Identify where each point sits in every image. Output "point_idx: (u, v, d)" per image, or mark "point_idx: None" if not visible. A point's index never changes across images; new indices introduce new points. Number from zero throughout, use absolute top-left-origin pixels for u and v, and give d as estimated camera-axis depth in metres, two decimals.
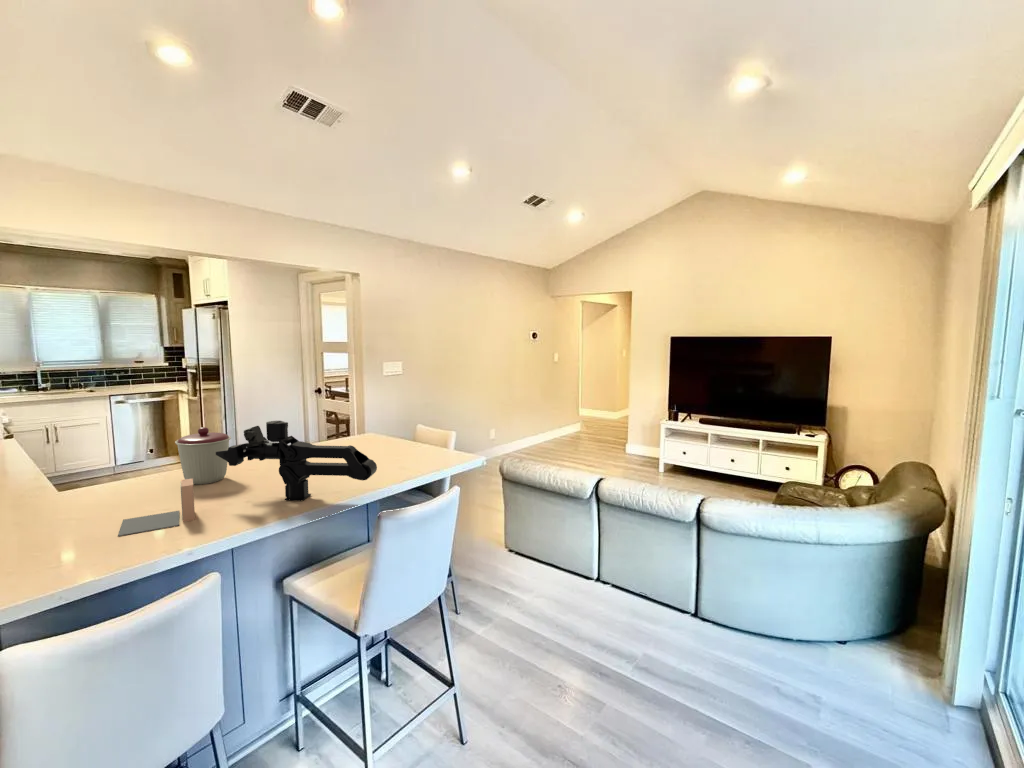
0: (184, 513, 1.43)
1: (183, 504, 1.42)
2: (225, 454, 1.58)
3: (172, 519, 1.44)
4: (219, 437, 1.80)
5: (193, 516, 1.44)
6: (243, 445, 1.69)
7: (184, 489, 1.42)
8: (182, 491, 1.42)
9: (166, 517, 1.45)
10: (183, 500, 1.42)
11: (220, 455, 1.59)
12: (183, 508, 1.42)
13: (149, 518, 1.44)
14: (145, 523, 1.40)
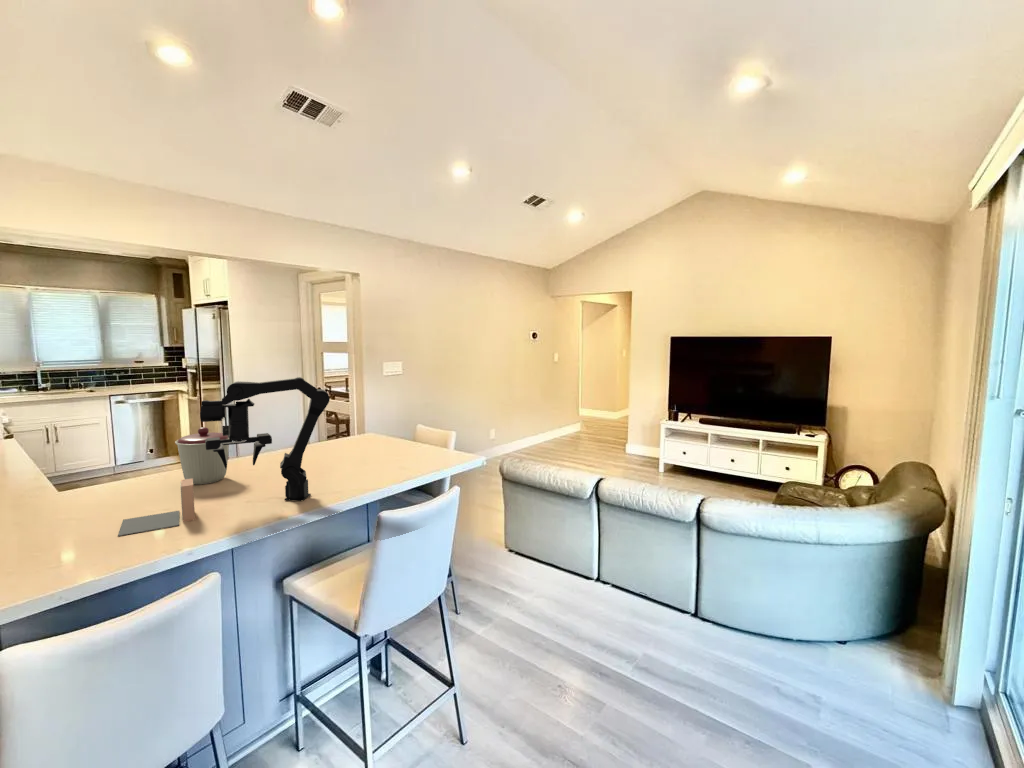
0: (184, 513, 1.43)
1: (183, 504, 1.42)
2: None
3: (172, 519, 1.44)
4: (219, 437, 1.80)
5: (193, 516, 1.44)
6: (253, 453, 1.59)
7: (184, 489, 1.42)
8: (182, 491, 1.42)
9: (166, 517, 1.45)
10: (183, 500, 1.42)
11: (223, 462, 1.53)
12: (183, 508, 1.42)
13: (149, 518, 1.44)
14: (145, 523, 1.40)
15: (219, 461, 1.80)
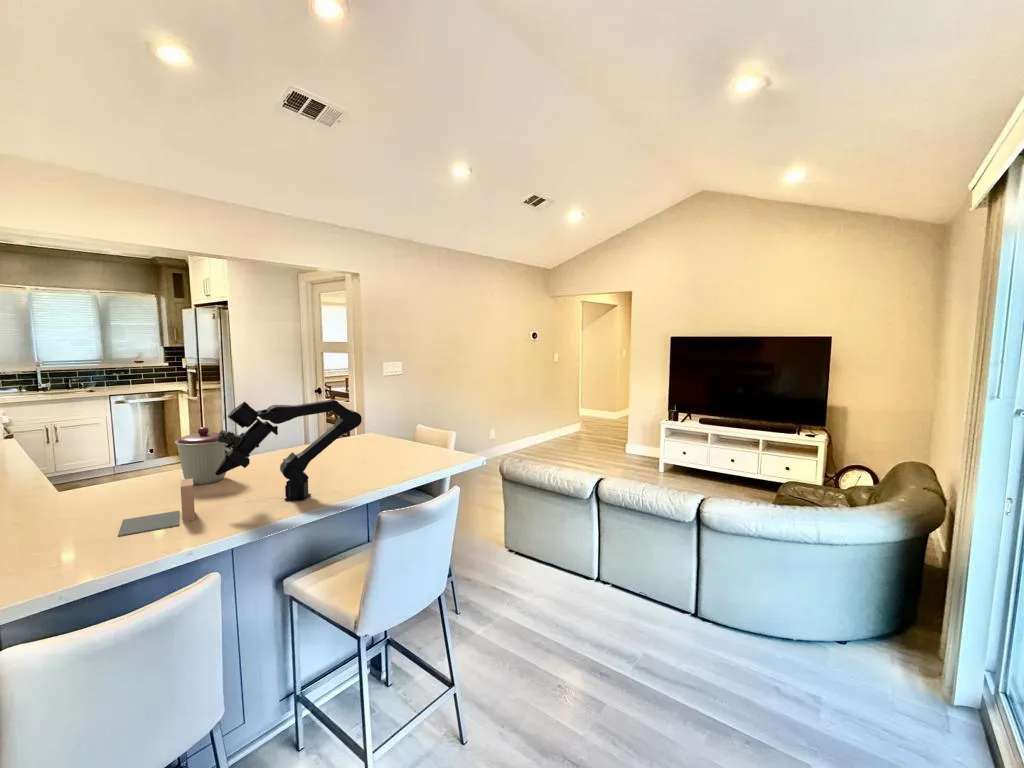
0: (184, 513, 1.43)
1: (183, 504, 1.42)
2: (226, 465, 1.50)
3: (172, 519, 1.44)
4: None
5: (193, 516, 1.44)
6: None
7: (184, 489, 1.42)
8: (182, 491, 1.42)
9: (166, 517, 1.45)
10: (183, 500, 1.42)
11: (223, 471, 1.50)
12: (183, 508, 1.42)
13: (149, 518, 1.44)
14: (145, 523, 1.40)
15: (219, 461, 1.80)
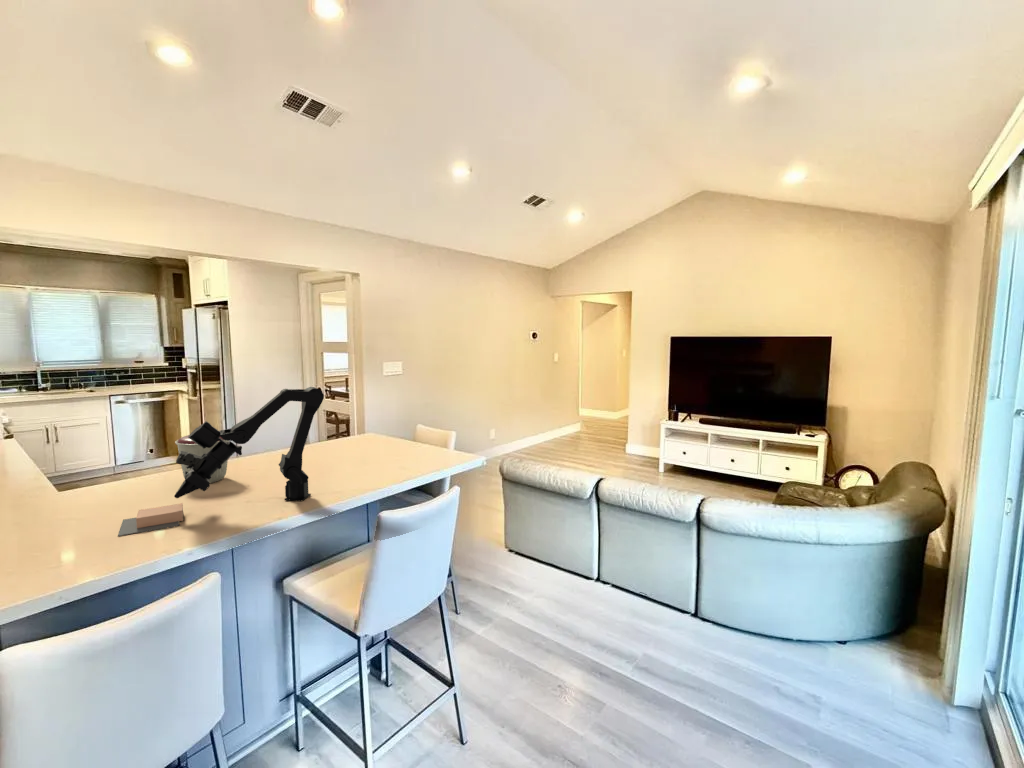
0: (172, 520, 1.41)
1: (160, 523, 1.39)
2: (186, 487, 1.45)
3: None
4: None
5: (178, 512, 1.42)
6: None
7: (140, 525, 1.37)
8: (143, 526, 1.37)
9: None
10: (155, 523, 1.39)
11: (182, 493, 1.44)
12: (166, 522, 1.40)
13: None
14: None
15: None
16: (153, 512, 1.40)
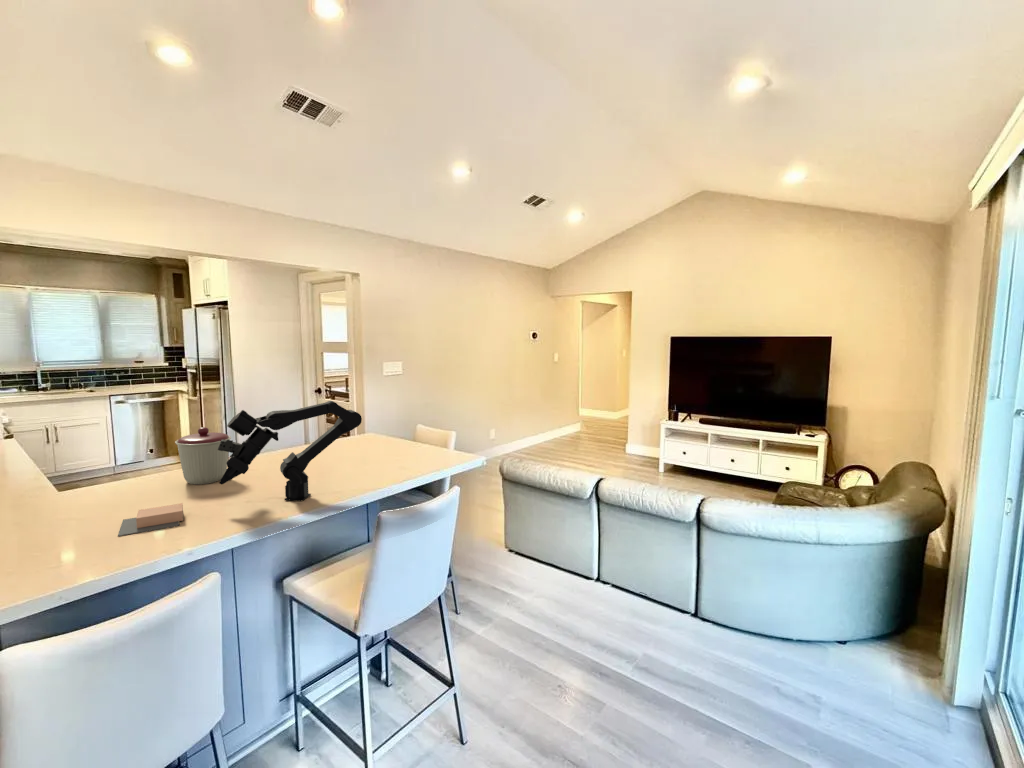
0: (172, 520, 1.41)
1: (160, 523, 1.39)
2: (229, 473, 1.51)
3: None
4: (219, 437, 1.80)
5: (178, 512, 1.42)
6: None
7: (140, 525, 1.37)
8: (143, 526, 1.37)
9: None
10: (155, 523, 1.39)
11: (226, 479, 1.51)
12: (166, 522, 1.40)
13: None
14: None
15: (219, 461, 1.80)
16: (153, 512, 1.40)
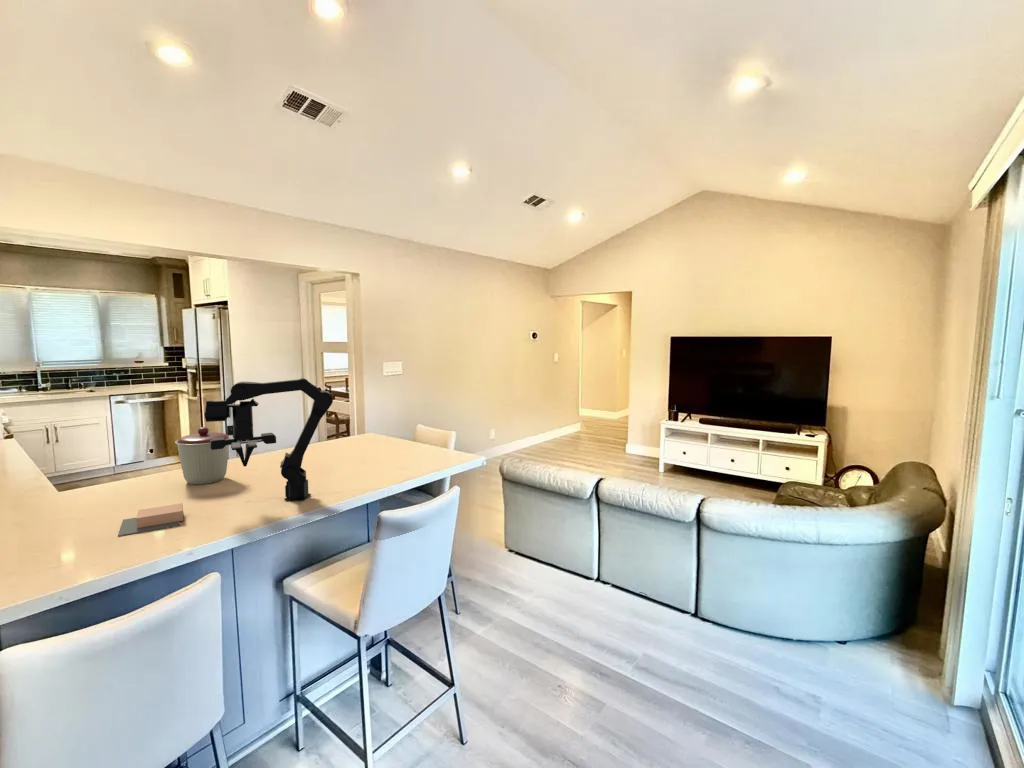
0: (172, 520, 1.41)
1: (160, 523, 1.39)
2: None
3: None
4: (219, 437, 1.80)
5: (178, 512, 1.42)
6: (245, 454, 1.57)
7: (140, 525, 1.37)
8: (143, 526, 1.37)
9: None
10: (155, 523, 1.39)
11: (241, 460, 1.56)
12: (166, 522, 1.40)
13: None
14: None
15: (219, 461, 1.80)
16: (153, 512, 1.40)
